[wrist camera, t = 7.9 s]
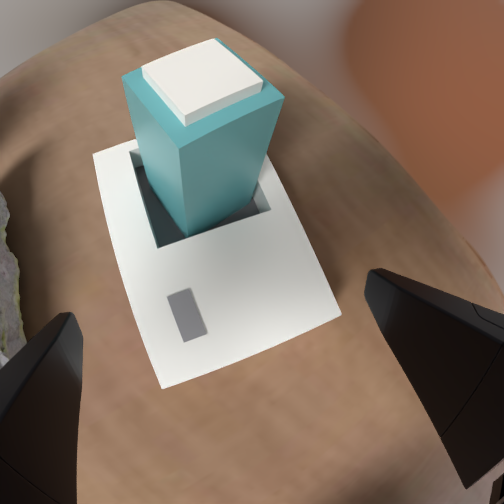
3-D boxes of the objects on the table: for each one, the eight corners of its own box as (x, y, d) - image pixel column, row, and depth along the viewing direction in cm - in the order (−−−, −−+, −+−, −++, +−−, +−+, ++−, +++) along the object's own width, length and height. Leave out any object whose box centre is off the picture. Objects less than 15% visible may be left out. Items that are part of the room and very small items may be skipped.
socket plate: (325, 319, 19) (342, 314, 16) (167, 383, 17) (162, 389, 14) (239, 132, 22) (243, 108, 19) (102, 174, 20) (92, 153, 17)
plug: (250, 202, 20) (288, 86, 10) (189, 242, 19) (177, 137, 9) (208, 152, 20) (217, 27, 11) (149, 187, 19) (119, 65, 10)
